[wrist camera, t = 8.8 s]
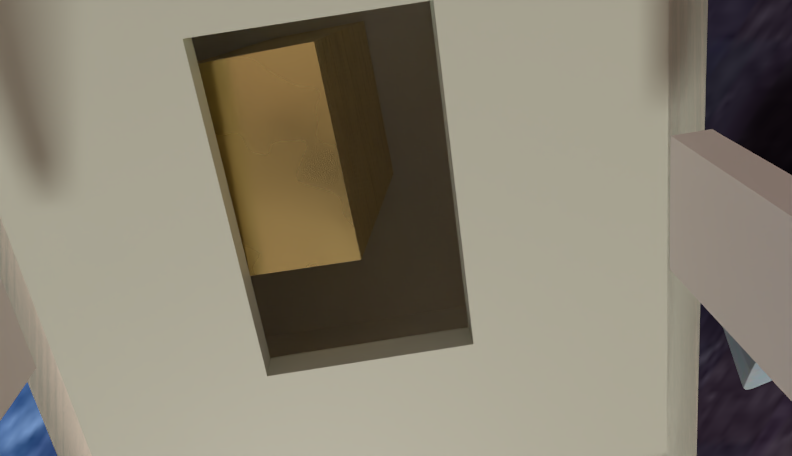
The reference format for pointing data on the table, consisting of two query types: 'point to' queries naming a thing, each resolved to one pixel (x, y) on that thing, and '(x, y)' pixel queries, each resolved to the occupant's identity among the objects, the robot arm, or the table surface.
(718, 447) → the table surface
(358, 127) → the tan rectangular block
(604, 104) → the coin box
